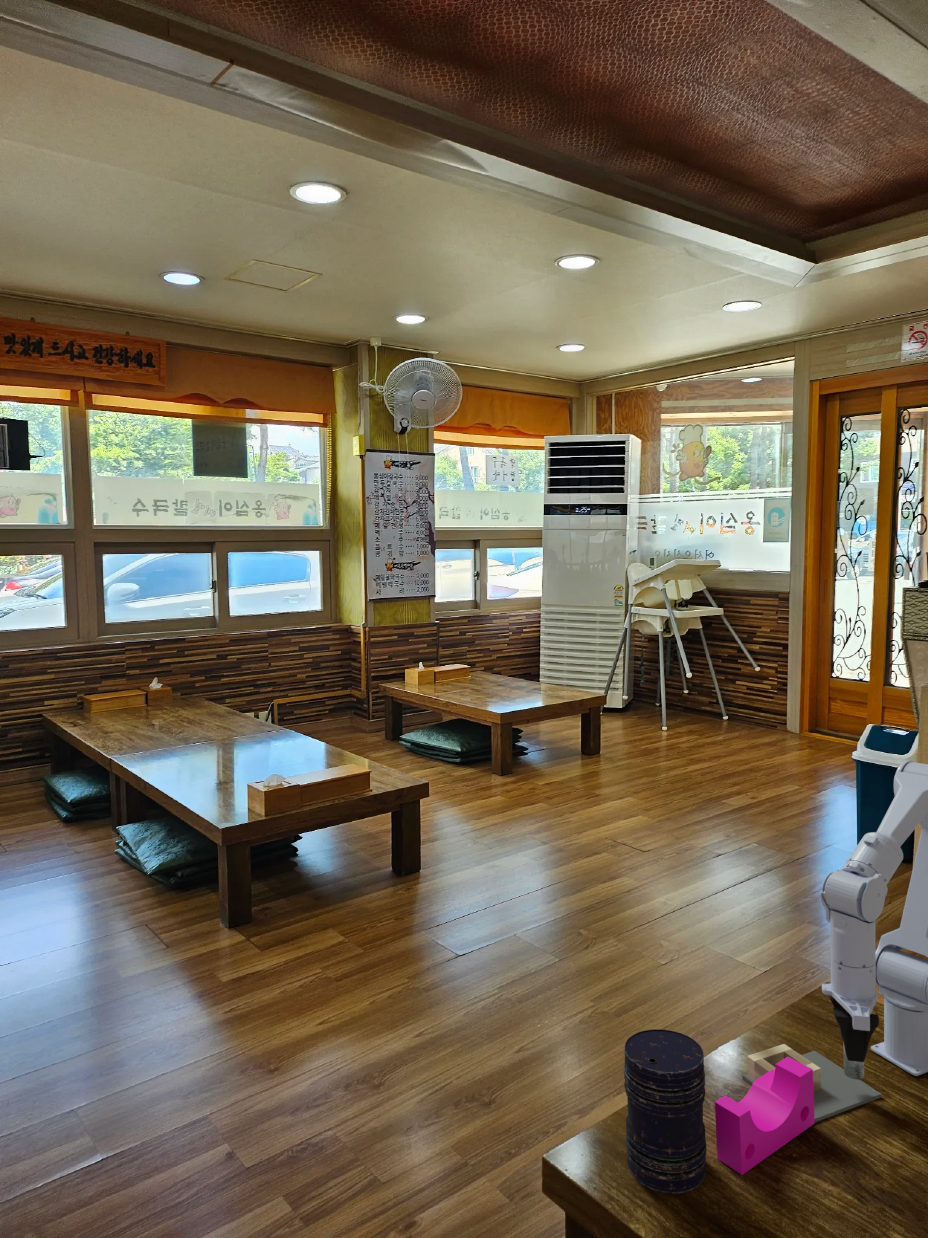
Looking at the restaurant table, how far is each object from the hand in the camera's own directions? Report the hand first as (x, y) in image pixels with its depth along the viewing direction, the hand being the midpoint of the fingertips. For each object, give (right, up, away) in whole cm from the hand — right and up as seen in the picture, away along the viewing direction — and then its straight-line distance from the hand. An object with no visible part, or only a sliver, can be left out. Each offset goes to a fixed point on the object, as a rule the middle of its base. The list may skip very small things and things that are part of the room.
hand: (853, 1053), depth 120 cm
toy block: (-16, -7, -8) cm, 19 cm away
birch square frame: (-9, -6, +3) cm, 11 cm away
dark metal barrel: (-29, -8, -12) cm, 33 cm away
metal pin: (0, -3, 0) cm, 3 cm away
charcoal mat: (-5, -6, +2) cm, 8 cm away
